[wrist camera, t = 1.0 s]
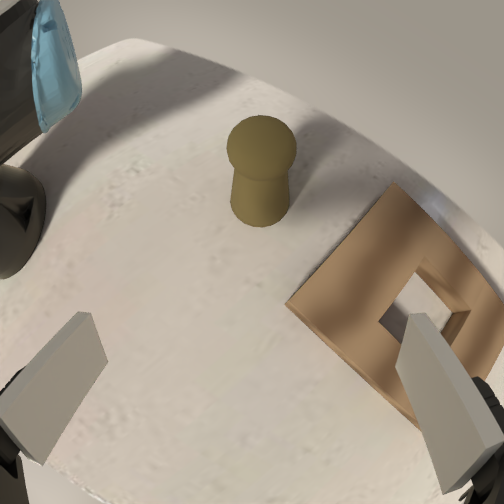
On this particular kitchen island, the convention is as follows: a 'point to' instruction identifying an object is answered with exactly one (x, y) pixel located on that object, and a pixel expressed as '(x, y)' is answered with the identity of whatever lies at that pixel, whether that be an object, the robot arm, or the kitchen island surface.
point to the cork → (260, 169)
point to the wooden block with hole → (387, 289)
